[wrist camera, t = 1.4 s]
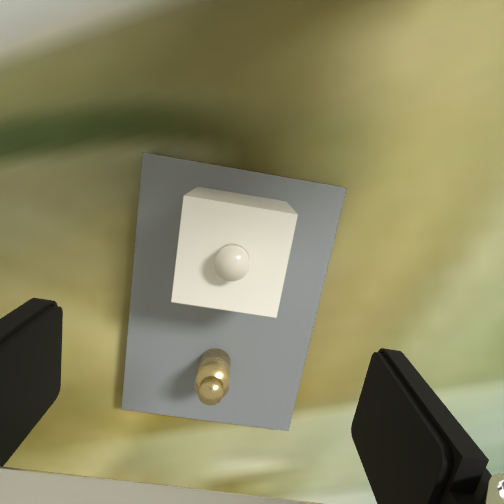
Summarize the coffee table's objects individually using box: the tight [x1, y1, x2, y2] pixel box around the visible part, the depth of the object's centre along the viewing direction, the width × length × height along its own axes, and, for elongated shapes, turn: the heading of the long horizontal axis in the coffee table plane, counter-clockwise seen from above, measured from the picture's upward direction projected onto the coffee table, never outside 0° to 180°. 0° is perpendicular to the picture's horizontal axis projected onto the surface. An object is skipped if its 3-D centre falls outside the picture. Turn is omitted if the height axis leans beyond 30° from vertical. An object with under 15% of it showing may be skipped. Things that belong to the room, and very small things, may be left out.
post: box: [195, 348, 231, 406], centre depth 27 cm, size 3×3×4 cm
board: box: [121, 153, 347, 431], centre depth 28 cm, size 22×15×1 cm
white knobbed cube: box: [171, 187, 298, 318], centre depth 23 cm, size 7×7×7 cm
